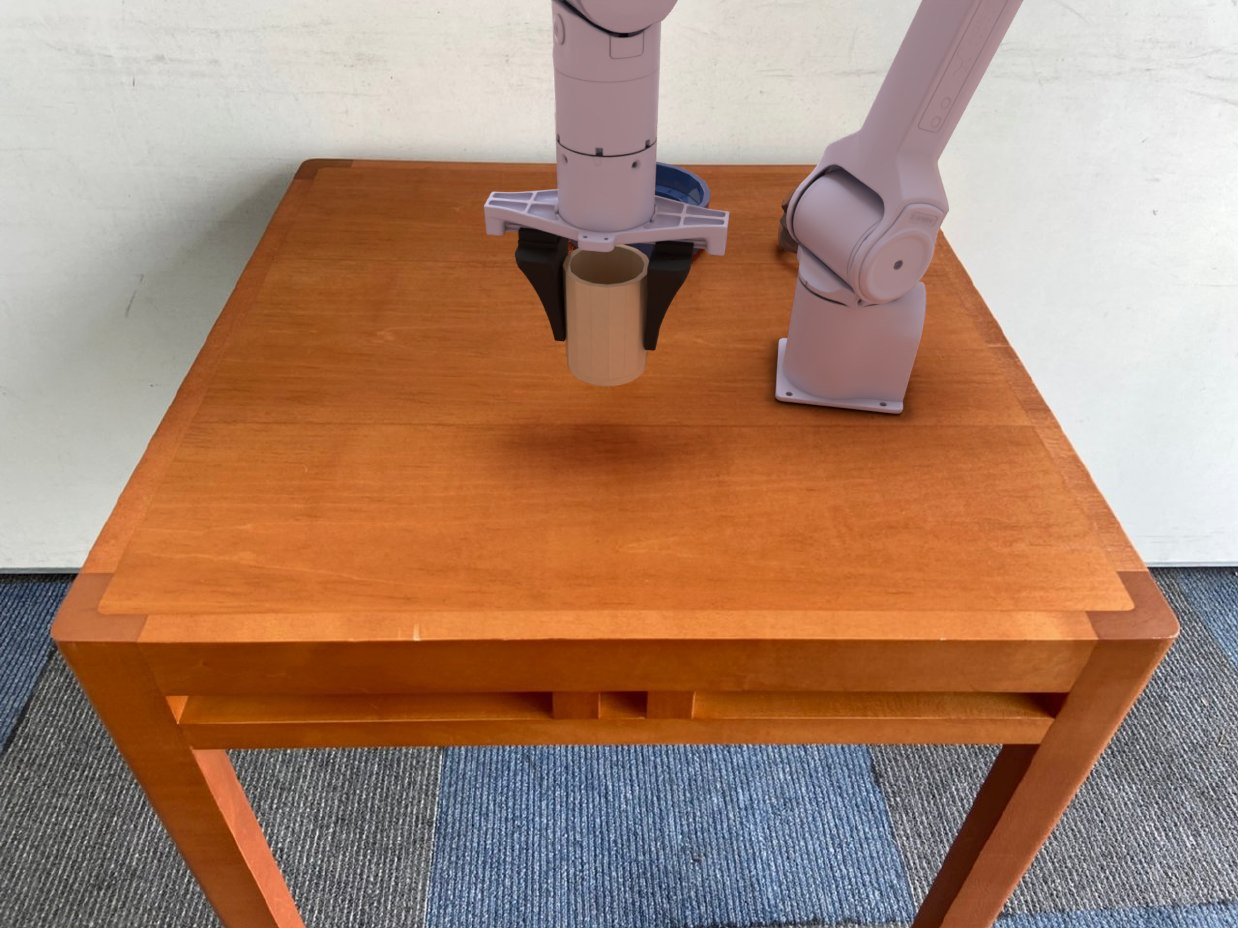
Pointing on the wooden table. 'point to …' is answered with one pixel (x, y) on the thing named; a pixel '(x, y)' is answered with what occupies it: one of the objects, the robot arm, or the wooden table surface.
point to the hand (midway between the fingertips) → (606, 337)
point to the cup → (606, 314)
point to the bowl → (675, 194)
